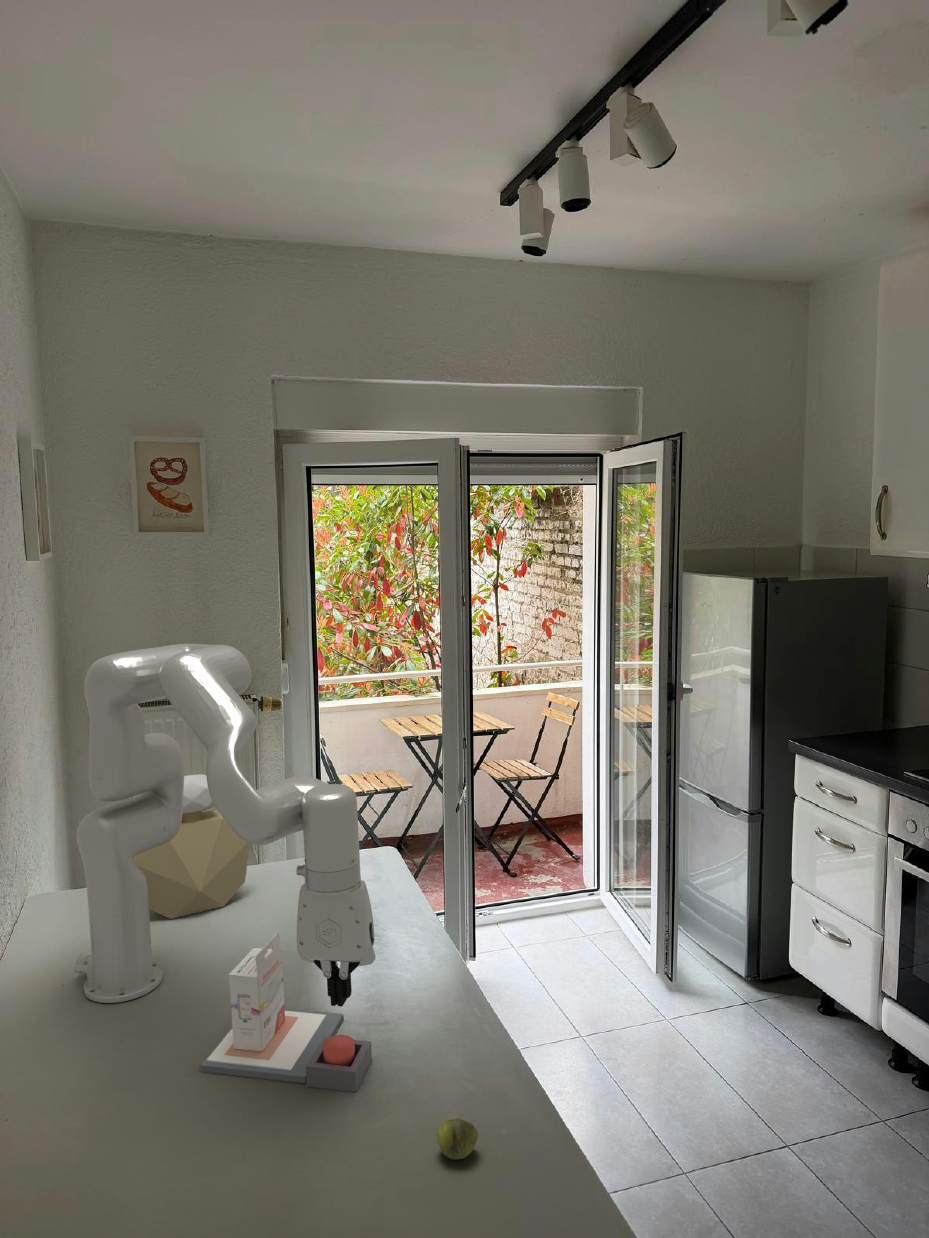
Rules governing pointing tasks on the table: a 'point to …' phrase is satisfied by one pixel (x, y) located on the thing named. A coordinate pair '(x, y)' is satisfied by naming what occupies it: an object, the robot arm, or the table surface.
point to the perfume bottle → (195, 859)
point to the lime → (457, 1138)
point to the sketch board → (276, 1049)
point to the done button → (339, 1050)
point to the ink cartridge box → (257, 997)
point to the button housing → (339, 1069)
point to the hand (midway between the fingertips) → (340, 1000)
